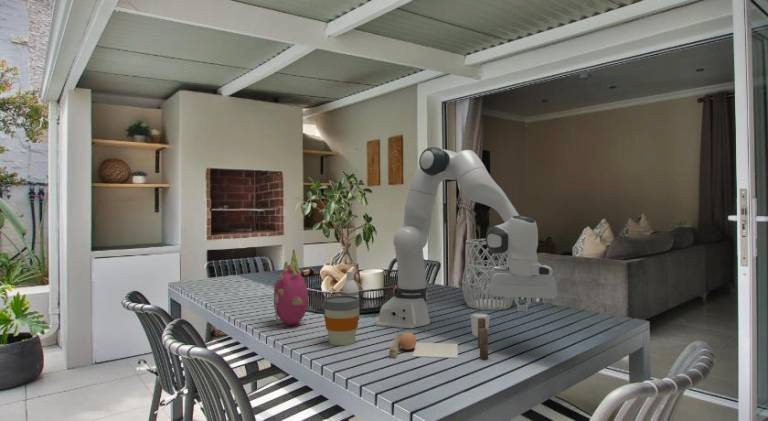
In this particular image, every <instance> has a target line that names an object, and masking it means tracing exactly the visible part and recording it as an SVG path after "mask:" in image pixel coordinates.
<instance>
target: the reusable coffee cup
mask: <svg viewBox="0 0 768 421" xmlns="http://www.w3.org/2000/svg"><path fill="white" fill-rule="evenodd" d="M322 307H323V309H324V315H323V317H324V324H325V329H326V330H327V334H328V342H329V344H330V345H333V346H348V345H352V344H354V343H355V342H356V333H357V329H358V327H359V319H360V313H359V314H358V308H359V309H360V297H359V298H358V297H355V296H345V295H343V296H342V295H334V296H328V297H326V298H324V300H323V306H322ZM358 318H359V319H358Z"/></svg>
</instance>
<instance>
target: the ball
mask: <svg viewBox="0 0 768 421" xmlns="http://www.w3.org/2000/svg"><path fill="white" fill-rule="evenodd" d="M402 334H403V335H402V336H401V337H400V340H399V342H400V345H401V347H400V348H402V349H403V350H405V351H411V350H413V349H415V346H416V343H417V339H416V337H415V335H414V334H413V333H411V332H405V333H402Z"/></svg>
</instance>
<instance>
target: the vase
mask: <svg viewBox="0 0 768 421" xmlns="http://www.w3.org/2000/svg"><path fill="white" fill-rule="evenodd" d="M465 243H466V244H465V245H466V260H465V266H464V270H463V273H462V274H463V275H462V279H461V291H462V295H463V299H464V302H465V304H466V306H467V307H469V308H472V309H476V310H481V311H501V310H508V309H510V308H511V307H512V304H513V303H514V301H515V300H514V297H500V296H492V295H491V294H490V283H491V280H490V278H489V271H490V270H491V269H492V268H494V267H509V266H508V265H509V254H494V253H492V255H490V253H489V251H490V250H489V249H488V247H487V248H486V249H485V248H484V247H483V246H484V245H486V238H475V239H473V238H472V239H467V240H465ZM475 245H476V247H474V246H475ZM480 249H481V250H482V251H483V252H481V254H479V253H478V252H479V251H480ZM472 251H473V252H472ZM485 257H487V259H486V260H485ZM496 257H497V259H498V260H495V258H496ZM475 259H477V260H475ZM493 270H494V269H493ZM479 271H480V273H481V275H480V276H478V273H479ZM469 273H470V275H469ZM485 280H486V285H485Z"/></svg>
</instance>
